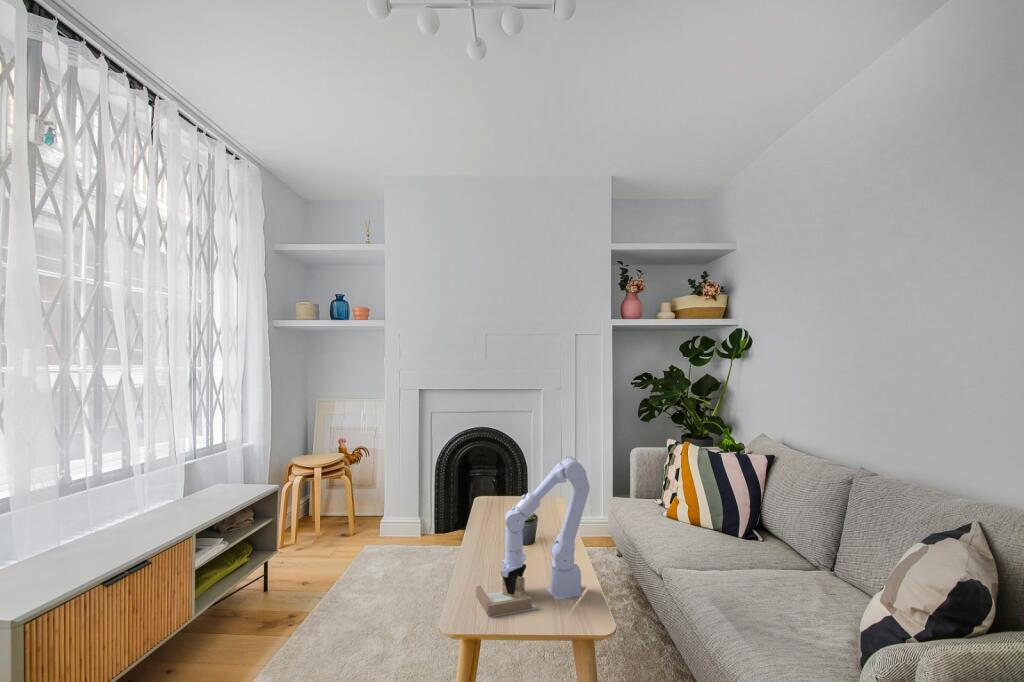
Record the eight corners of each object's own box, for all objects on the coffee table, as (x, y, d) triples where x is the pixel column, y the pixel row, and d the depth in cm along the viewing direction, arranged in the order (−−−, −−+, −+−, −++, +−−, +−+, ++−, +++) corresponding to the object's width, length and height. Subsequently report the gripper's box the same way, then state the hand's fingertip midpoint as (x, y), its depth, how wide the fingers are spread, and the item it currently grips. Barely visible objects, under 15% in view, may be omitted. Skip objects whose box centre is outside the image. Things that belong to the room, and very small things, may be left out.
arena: (520, 589, 165) (520, 578, 165) (537, 609, 151) (537, 598, 151) (475, 596, 159) (475, 585, 159) (488, 618, 146) (488, 606, 146)
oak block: (507, 589, 164) (508, 573, 164) (524, 593, 161) (524, 577, 161) (502, 594, 160) (502, 578, 160) (519, 598, 158) (519, 582, 158)
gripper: (512, 538, 169) (511, 579, 169) (492, 554, 156) (492, 597, 156) (531, 542, 166) (530, 583, 166) (513, 558, 153) (512, 602, 153)
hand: (513, 590), depth 161 cm, fingers closed on oak block, 4 cm apart
